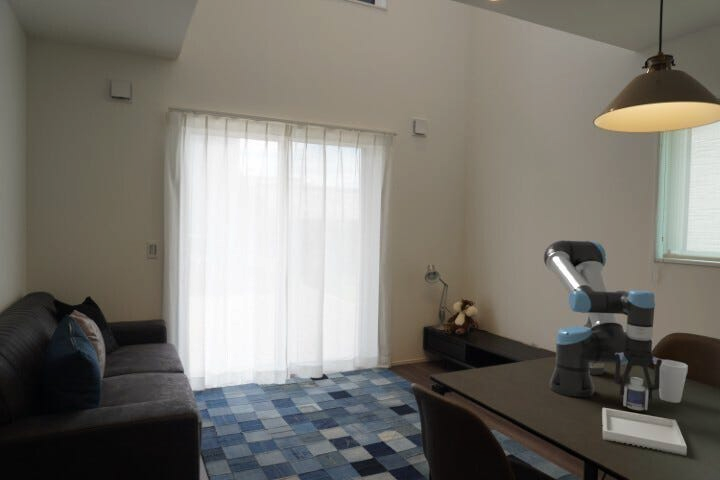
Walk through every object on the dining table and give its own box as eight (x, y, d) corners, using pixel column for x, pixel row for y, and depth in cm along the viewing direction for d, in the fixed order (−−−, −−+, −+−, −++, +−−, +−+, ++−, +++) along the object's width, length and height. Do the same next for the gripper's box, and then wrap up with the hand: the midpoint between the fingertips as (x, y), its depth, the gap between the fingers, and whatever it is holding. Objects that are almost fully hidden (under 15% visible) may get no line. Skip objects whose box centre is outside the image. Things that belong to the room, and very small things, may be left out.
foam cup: (686, 406, 166) (688, 369, 166) (654, 400, 171) (656, 364, 171) (685, 398, 174) (686, 362, 174) (654, 392, 179) (656, 358, 179)
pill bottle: (646, 411, 157) (648, 382, 157) (628, 409, 158) (630, 380, 158) (640, 405, 163) (642, 376, 162) (623, 403, 164) (625, 375, 163)
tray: (602, 439, 138) (603, 430, 138) (602, 415, 156) (602, 407, 156) (686, 455, 130) (686, 446, 129) (675, 428, 147) (675, 420, 147)
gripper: (607, 336, 160) (604, 405, 161) (673, 344, 152) (669, 416, 153) (607, 331, 167) (603, 397, 168) (670, 339, 158) (666, 408, 160)
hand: (635, 406), depth 160 cm, fingers closed on pill bottle, 5 cm apart
